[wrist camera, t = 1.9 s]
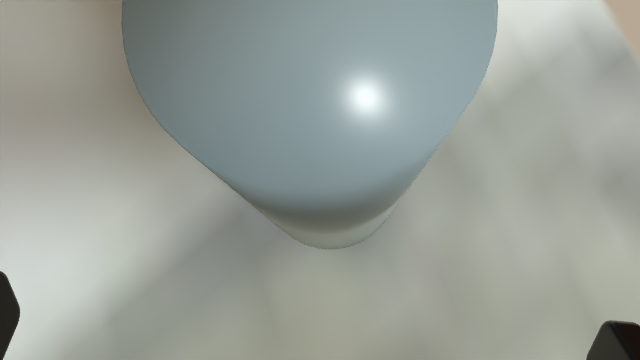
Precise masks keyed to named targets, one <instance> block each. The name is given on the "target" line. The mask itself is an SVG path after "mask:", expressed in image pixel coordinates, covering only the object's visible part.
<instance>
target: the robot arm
mask: <svg viewBox="0 0 640 360" xmlns="http://www.w3.org/2000/svg"><path fill="white" fill-rule="evenodd" d="M19 317H20V307H19V304H18V302H17V299H16V297H15V294H14V292H13V290H12V287H11V285H10V283H9V280H8V278H7V276H6V275H5V274H4V273H3V272H2V271H0V360H3V358H4V355H5V353H6V351H7V348H8V346H9V343H10V341H11V339H12V336H13V334H14V331H15V329H16V327H17V324H18V321H19ZM586 360H640V326H639V325H638V324H636V323H633V322H624V321H612V320H610V321H606V322H605V323H603V325H602V326H601V328H600V330H599V332H598V334H597V336H596V338H595V340H594V342H593V344H592V346H591V348H590V350H589V353H588V355H587V359H586Z"/></svg>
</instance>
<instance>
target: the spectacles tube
mask: <svg viewBox="0 0 640 360" xmlns="http://www.w3.org/2000/svg"><path fill="white" fill-rule="evenodd" d="M497 16H498V2H497V0H123V2H122V33H123V43H124V49H125V53H126V57H127V62H128V66H129V70H130V72H131V75H132V77H133V79H134V82H135V84H136V87H137V89H138V92H139V93H140V95H141V97H142V98H143V100H144V102H145V104H146V105H147V107H148V109H149V110H150V112H151V113H152V115H153V116H154V117H155V118H156V120H157V121H158V122H159V123H160V125H161V126H162V127H163V128H164V130H165V131H166V132H167V133H168V134H169V135H170V136H171V137H173V138H174V139H175V140H176V141H177V142H178V143H179V144H180V145H181V146H182V147H183V148H184V149H185V150H187V151H188V152H189V153H190V154H192V155H193V156H194V157H195V158H196V159H198V160H199V161H200V162H201V163H202V164H204V165H205V166H206V167H207V168H208V169H210V170H211V171H212V172H213V173H214V174H216V175H217V176H218V177H219V178H221V179H222V180H223V181H224V182H225V183H227V184H228V185H229V186H230V187H231V188H233V189H234V190H235V191H236V192H237V193H239V194H240V195H241V196H242V197H243V198H245V199H246V200H247V201H248V202H250V203H251V204H252V205H253V206H254V207H256V208H257V209H258V210H259V211H260V212H262V213H263V214H264V215H265V216H266V217H268V218H269V219H270V220H271V221H272V222H274V223H275V224H276V225H277V226H278V227H280V228H281V229H282V230H283V231H285V232H286V233H287V234H288V235H290V236H291V237H292V238H294V239H295V240H297V241H299V242H301V243H303V244H306V245H308V246H311V247H316V248H321V249H339V248H345V247H349V246H352V245H355V244H357V243H359V242H361V241H363V240H365V239H366V238H368V237H370V236H371V235H372V234H373V233H374V232H376V231H377V230H378V229H379V228H380V226H381V225H382V224H383V223H384V221H385V220H386V219H387V217H388V216H389V215H390V213H391V212H392V210H393V209H394V208H395V206H396V205H397V204H398V202H399V201H400V199H401V198H402V197H403V195H404V194H405V192H406V191H407V190H408V188H409V187H410V186H411V184H412V183H413V181H414V180H415V179H416V177H417V176H418V174H419V173H420V172H421V170H422V169H423V168H424V166H425V165H426V163H427V162H428V161H429V159H430V158H431V156H432V155H433V154H434V152H435V151H436V150H437V148H438V147H439V145H440V144H441V143H442V141H443V140H444V138H445V137H446V136H447V134H448V133H449V132H450V130H451V129H452V127H453V126H454V125H455V123H456V122H457V121H458V119H459V118H460V116H461V115H462V113H463V112H464V111H465V109H466V108H467V106H468V105H469V103H470V102H471V101H472V99H473V98H474V96H475V94H476V92H477V90H478V88H479V86H480V84H481V82H482V80H483V78H484V76H485V73H486V70H487V68H488V65H489V62H490V59H491V56H492V53H493V48H494V42H495V37H496V32H497Z"/></svg>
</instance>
